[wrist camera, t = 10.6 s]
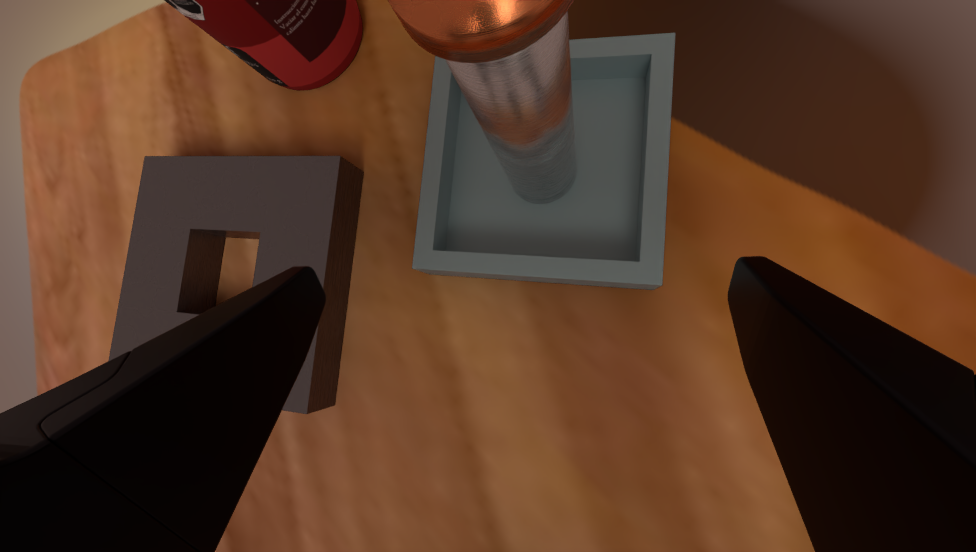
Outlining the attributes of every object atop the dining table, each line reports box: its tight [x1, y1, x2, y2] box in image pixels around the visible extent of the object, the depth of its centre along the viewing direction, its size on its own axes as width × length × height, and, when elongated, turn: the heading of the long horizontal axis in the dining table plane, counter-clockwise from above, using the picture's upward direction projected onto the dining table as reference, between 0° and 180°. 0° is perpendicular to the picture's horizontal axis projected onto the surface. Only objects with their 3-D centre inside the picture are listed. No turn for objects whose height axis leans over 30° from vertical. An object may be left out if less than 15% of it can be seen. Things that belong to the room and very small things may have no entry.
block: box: [109, 156, 364, 414], centre depth 25 cm, size 14×14×2 cm
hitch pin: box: [388, 0, 577, 204], centre depth 16 cm, size 5×5×14 cm
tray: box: [412, 33, 675, 290], centre depth 22 cm, size 12×12×2 cm
